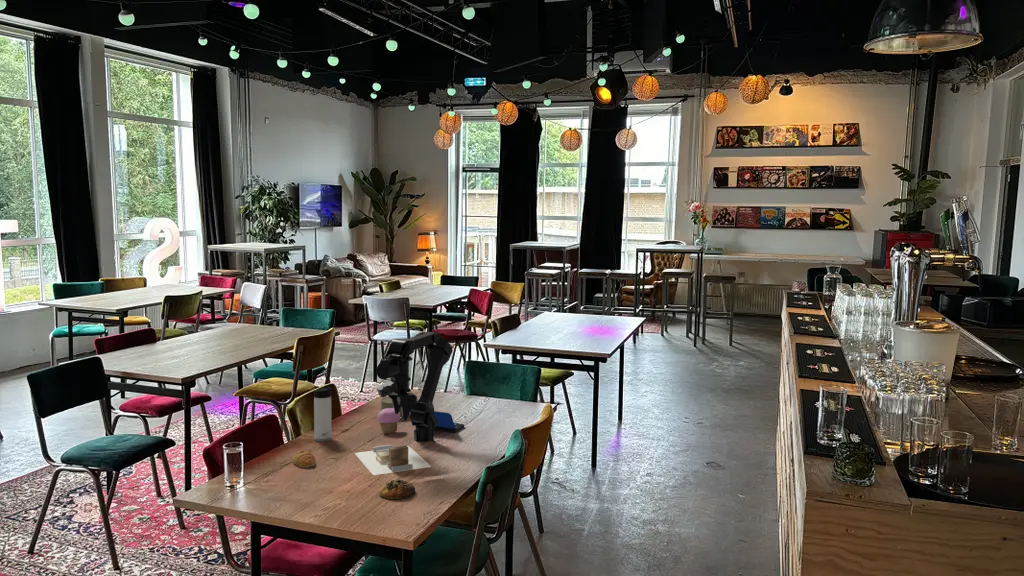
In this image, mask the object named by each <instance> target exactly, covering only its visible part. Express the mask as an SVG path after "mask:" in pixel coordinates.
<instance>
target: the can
mask: <svg viewBox="0 0 1024 576" xmlns="http://www.w3.org/2000/svg"><path fill="white" fill-rule="evenodd" d="M380 404H381V405H380V406H381V407H380V411H382V410H383V409H386V408H394V407H393V403H392V400H391V398H390V397H389V396H386V397H383V398H381V399H380ZM399 413H400V417H402V410H401V407H400V410H399Z"/></svg>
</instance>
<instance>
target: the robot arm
mask: <svg viewBox="0 0 1024 576" xmlns="http://www.w3.org/2000/svg"><path fill="white" fill-rule="evenodd" d="M423 347H426V348H427V349H428V351H429V352H428V358H429V362H430V364H429V367H428V370H427V374H426V377H425V380H424V384H423V388H422V390H421V394H420V397H419V398H418V396H417V395H416V394H414V393H413V392H412V390H411V388H410V382H411V381H412V380H411V379H412V378H411V377H410V362H411V361H413V357H412V356H411V355H412V354H414V353H415V351H416V350H418V349H421V348H423ZM385 352H386V353H385V355H384V356H383V357H384V358H382V359H380V363H379V364H378V365H377V366H376V368H375V373H376V376H377V377H378V378H379V379H380V380H381V381H382V380H383V381H384V380H386V379H389V380H390V381H386V382H384V383H382V384H380V385H377V386H376V391H377V392H378V393H377V394H378V395H379V397H381V399H383V398H385V397H390V398H391V400H392V403H393V407H394V411H395V414H398V413H399V410H400V407H401V410H402V417H403V418H402V420H403V421H404V422H405V421H407V420H408V418H410V422H411V426H415V429H414V431H413V439H414V441H415V442H417V443H418V442H421V443H423V442H425V443H427V442H431V441H432V442H433V443H434V444H435V443H436V441H435V440H434V439H435V437H434V436H435V434H434V433H435V430H434V428H436V426H437V424H438V420H437V418H436V417H435V416H434V411H435V408H434V404H433V403H434V398H435V395H436V392H437V388H438V384H439V381H440V378H441V374H442V371H443V369H444V368H443V367H444V366H445V365H446V364H447V363H448V362H449V361H450V358H451V357H452V355H453V346H452V344H451V343H449V341H448V340H446V339H445V338H443V337H442V336H441V335H440V334H439V333H437V332H434V331H433V332H432V331H427V332H425V333H422V334H418V335H416V336H413V337H409V338H394V339H392V340H391V342H390V344H389V346H388V349H387V350H386V351H385Z"/></svg>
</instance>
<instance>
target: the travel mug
mask: <svg viewBox="0 0 1024 576" xmlns="http://www.w3.org/2000/svg"><path fill="white" fill-rule="evenodd" d="M332 389H333V388H332V387H320V388H319V387H318V388H316V390H314V392H313V395H314V396H313V397H314V398H313V409H314V410H313V414H314V415H313V416H314V417H313V422H314V430H313V432H314V433H313V434H314V435H313V436H314V441H315V442H318V443H319V442H320V443H326V442H329V441H331V440H332ZM325 441H326V442H325Z"/></svg>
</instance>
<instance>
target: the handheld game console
mask: <svg viewBox="0 0 1024 576" xmlns="http://www.w3.org/2000/svg"><path fill="white" fill-rule="evenodd" d="M434 416H435V417H436V418H437V420H438V424H437V426H436V428H434V429H438V430H437V431H440V430H442V431H441V432H445V431H446V432H447V433H453V434H455V433H457V432H458V431H460V430H462V429H464V428H465V424H463V423H458V422H454V419H453V416H452V414H451V413H450V412H443V411H437V410H436V411H435V410H434Z"/></svg>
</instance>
